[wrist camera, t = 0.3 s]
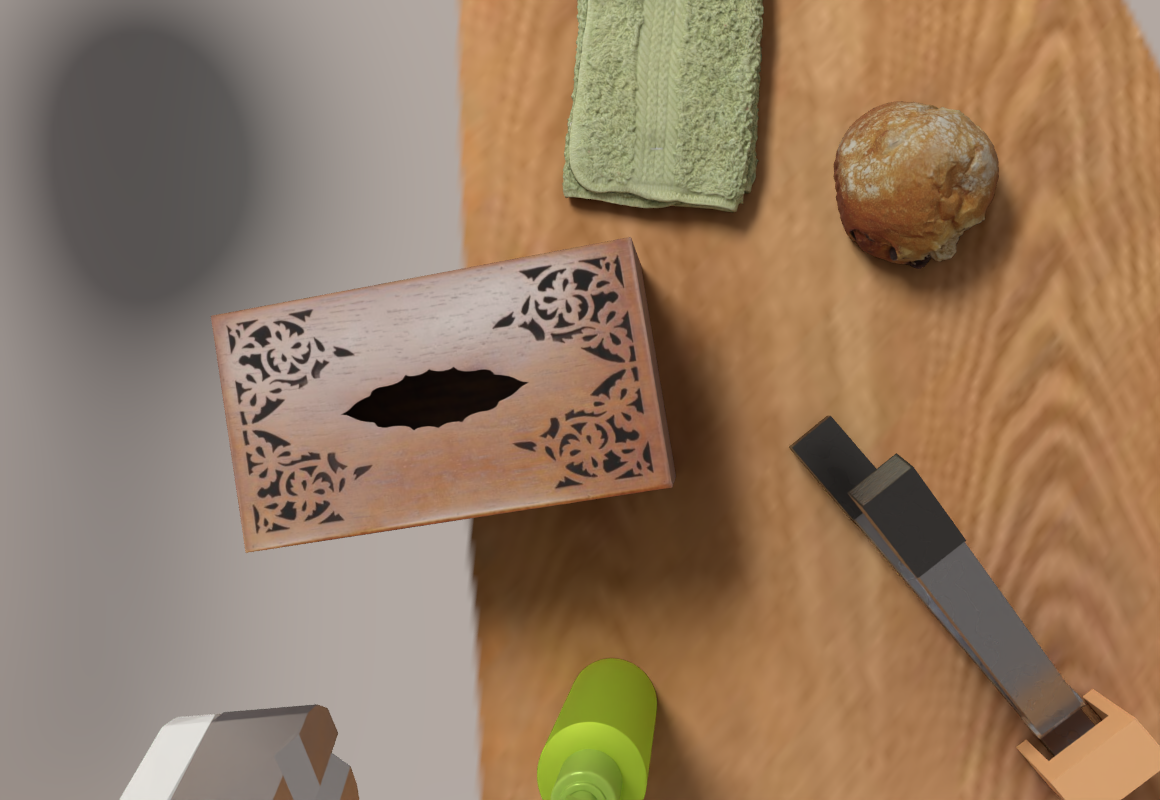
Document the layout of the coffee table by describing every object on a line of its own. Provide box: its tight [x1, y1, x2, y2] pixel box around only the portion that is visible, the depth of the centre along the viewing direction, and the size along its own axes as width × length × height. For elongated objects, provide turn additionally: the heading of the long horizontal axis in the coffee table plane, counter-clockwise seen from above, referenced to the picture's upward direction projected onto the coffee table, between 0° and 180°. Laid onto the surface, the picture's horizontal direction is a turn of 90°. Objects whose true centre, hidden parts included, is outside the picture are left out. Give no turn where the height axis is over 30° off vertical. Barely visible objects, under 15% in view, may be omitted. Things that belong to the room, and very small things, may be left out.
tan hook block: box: [1016, 689, 1160, 800], centre depth 55 cm, size 3×6×6 cm, turn 130°
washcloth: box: [563, 0, 764, 212], centre depth 61 cm, size 13×18×3 cm
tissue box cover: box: [211, 237, 676, 553], centre depth 58 cm, size 26×14×10 cm, turn 99°
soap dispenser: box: [537, 658, 657, 800], centre depth 52 cm, size 6×7×20 cm
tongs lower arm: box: [789, 416, 1095, 756], centre depth 58 cm, size 28×3×2 cm, turn 40°
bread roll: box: [834, 101, 999, 269], centre depth 58 cm, size 10×10×8 cm
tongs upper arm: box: [848, 453, 1086, 739], centre depth 51 cm, size 23×3×2 cm, turn 40°
